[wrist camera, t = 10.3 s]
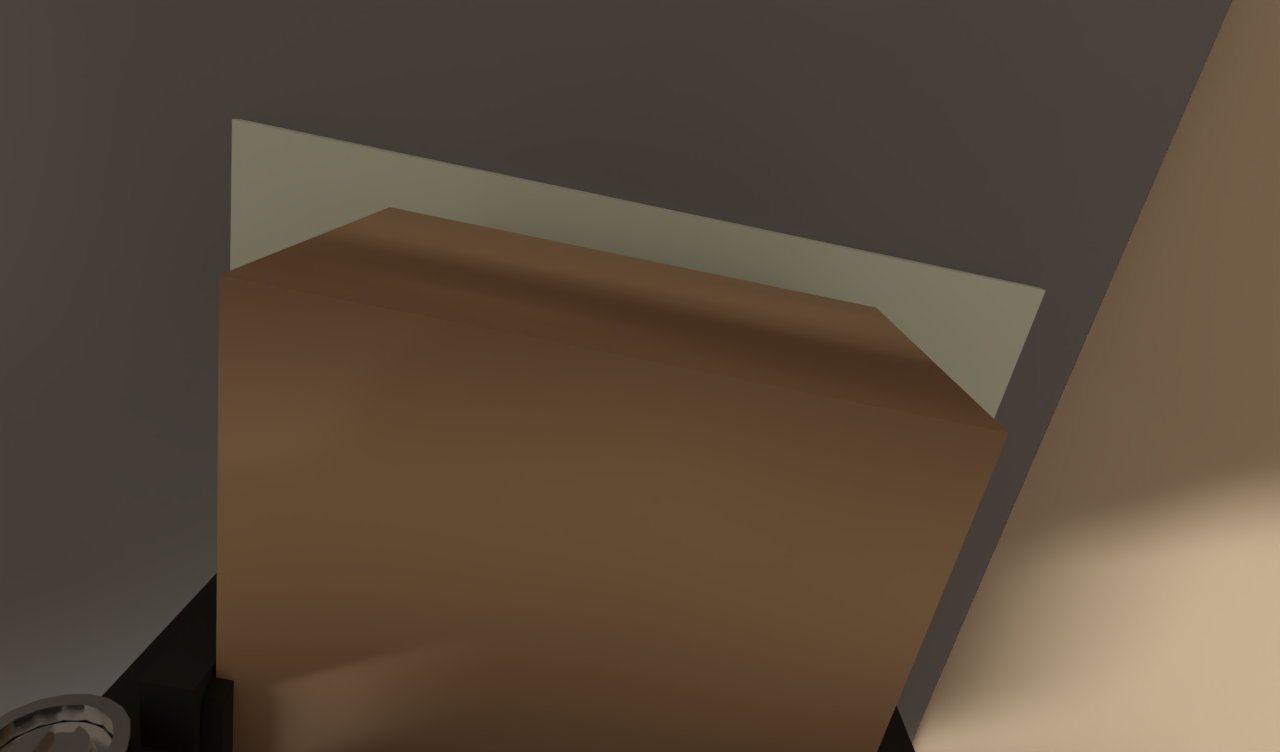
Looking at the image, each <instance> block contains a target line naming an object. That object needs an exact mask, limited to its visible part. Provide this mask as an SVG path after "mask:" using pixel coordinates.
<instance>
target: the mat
mask: <svg viewBox="0 0 1280 752" xmlns="http://www.w3.org/2000/svg"><path fill="white" fill-rule="evenodd" d="M1231 2H1232V0H0V717H1V716H3V715H4V714H6V713H8V712H10V711H11V710H13V709H15V708H18V707H21V706H23V705H26V704H29V703H31V702H34V701H37V700H39V699H44V698H49V697H54V696H59V695H64V694H92V695H97V696H102V695H103V694H104V693H105V692H106V691H107V690H108V689H109V688H110V687H111V686H112V685H113V683H114V682H115V681H116V680H117V679H118V678H119V677H120V676H121V675H122V674H123V673H124V672H125V671H126V669H127V668H128V667H129V666H130V665H131V664H132V663H133V662H134V661H135V660H136V659H137V658H138V657H139V656H140V654H141V653H142V652H143V651H144V650H145V649H146V648H147V647H148V646H149V645H150V644H151V643H152V642H153V641H154V639H155V638H156V637H157V636H158V635H159V634H160V633H161V632H162V631H163V630H164V629H165V628H166V627H167V626H168V624H169V623H170V622H171V621H172V620H173V619H174V618H175V617H176V616H177V615H178V614H179V613H180V612H181V611H182V609H183V608H184V607H185V606H186V605H187V604H188V603H189V602H190V601H191V600H192V599H193V598H194V597H195V595H196V594H197V593H198V592H199V591H200V590H201V589H202V588H203V587H204V586H205V585H206V584H207V583H208V582H209V580H210V579H211V578H212V577H213V576H214V575H215V574H216V573H217V487H218V351H219V275H220V274H223V273H225V272H228V271H230V270H233V269H235V268H238V267H240V266H243V265H245V264H248V263H250V262H253V261H255V260H258V259H260V258H263V257H265V256H268V255H270V254H273V253H275V252H278V251H280V250H283V249H285V248H288V247H290V246H293V245H295V244H298V243H301V242H303V241H306V240H308V239H311V238H313V237H316V236H318V235H321V234H323V233H326V232H328V231H331V230H333V229H336V228H338V227H341V226H343V225H346V224H348V223H351V222H353V221H356V220H358V219H361V218H363V217H366V216H368V215H371V214H373V213H376V212H378V211H381V210H383V209H386V208H388V207H392V208H397V209H402V210H407V211H411V212H416V213H421V214H426V215H431V216H436V217H440V218H445V219H450V220H455V221H460V222H465V223H469V224H474V225H479V226H484V227H489V228H494V229H498V230H503V231H508V232H513V233H518V234H523V235H528V236H532V237H537V238H542V239H547V240H552V241H557V242H561V243H566V244H571V245H576V246H581V247H586V248H590V249H595V250H600V251H605V252H610V253H615V254H619V255H624V256H629V257H634V258H639V259H644V260H648V261H653V262H658V263H663V264H668V265H673V266H677V267H682V268H687V269H692V270H697V271H702V272H706V273H711V274H716V275H721V276H726V277H731V278H736V279H740V280H745V281H750V282H755V283H760V284H765V285H769V286H774V287H779V288H784V289H789V290H794V291H798V292H803V293H808V294H813V295H818V296H823V297H827V298H832V299H837V300H842V301H847V302H852V303H856V304H861V305H866V306H871V307H876V308H877V309H878V310H879V311H880V312H881V313H882V314H884V315H885V316H886V317H887V318H888V319H889V320H890V321H891V322H892V323H893V324H894V325H895V326H896V327H897V328H898V329H899V330H900V331H902V332H903V333H904V334H905V335H906V336H907V337H908V338H909V339H910V340H911V341H912V342H913V343H914V344H915V345H916V346H917V347H918V348H920V349H921V350H922V351H923V352H924V353H925V354H926V355H927V356H928V357H929V358H930V359H931V360H932V361H933V362H934V363H935V364H936V365H938V366H939V367H940V368H941V369H942V370H943V371H944V372H945V373H946V374H947V375H948V376H949V377H950V378H951V379H952V380H953V381H954V382H956V383H957V384H958V385H959V386H960V387H961V388H962V389H963V390H964V391H965V392H966V393H967V394H968V395H969V396H970V397H971V398H973V399H974V400H975V401H976V402H977V403H978V404H979V405H980V406H981V407H982V408H983V409H984V410H985V411H986V412H987V413H988V414H989V415H991V416H992V417H993V418H994V419H995V420H996V421H997V422H998V423H999V424H1000V425H1001V426H1002V427H1003V428H1004V429H1005V430H1006V431H1007V432H1009V434H1008V436H1007V439H1006V441H1005V444H1004V446H1003V448H1002V451H1001V453H1000V456H999V458H998V460H997V463H996V465H995V468H994V470H993V473H992V475H991V477H990V480H989V482H988V485H987V487H986V489H985V492H984V494H983V497H982V499H981V502H980V504H979V506H978V509H977V511H976V514H975V516H974V519H973V521H972V523H971V526H970V528H969V531H968V533H967V535H966V538H965V540H964V543H963V545H962V548H961V550H960V552H959V555H958V557H957V560H956V562H955V564H954V567H953V569H952V572H951V574H950V577H949V579H948V581H947V584H946V586H945V589H944V591H943V594H942V596H941V598H940V601H939V603H938V606H937V608H936V610H935V613H934V615H933V618H932V620H931V623H930V625H929V627H928V630H927V632H926V635H925V637H924V639H923V642H922V644H921V647H920V649H919V652H918V654H917V656H916V659H915V661H914V664H913V666H912V668H911V671H910V673H909V676H908V678H907V681H906V683H905V685H904V688H903V690H902V693H901V695H900V698H899V700H898V702H897V708H898V710H899V713H900V715H901V718H902V720H903V723H904V725H905V728H906V730H907V733H908V735H909V738H910V741H911V742H912V740H913V737H914V735H915V733H916V730H917V728H918V726H919V723H920V721H921V719H922V716H923V714H924V712H925V709H926V707H927V705H928V703H929V700H930V698H931V696H932V693H933V691H934V689H935V686H936V684H937V682H938V679H939V677H940V675H941V672H942V670H943V668H944V666H945V663H946V661H947V659H948V656H949V654H950V652H951V649H952V647H953V645H954V642H955V640H956V638H957V635H958V633H959V631H960V628H961V626H962V624H963V622H964V619H965V617H966V615H967V612H968V610H969V608H970V605H971V603H972V601H973V598H974V596H975V594H976V591H977V589H978V587H979V585H980V582H981V580H982V578H983V575H984V573H985V571H986V568H987V566H988V564H989V561H990V559H991V557H992V554H993V552H994V550H995V548H996V545H997V543H998V541H999V538H1000V536H1001V534H1002V531H1003V529H1004V527H1005V524H1006V522H1007V520H1008V517H1009V515H1010V513H1011V511H1012V508H1013V506H1014V504H1015V501H1016V499H1017V497H1018V494H1019V492H1020V490H1021V487H1022V485H1023V483H1024V480H1025V478H1026V476H1027V474H1028V471H1029V469H1030V467H1031V464H1032V462H1033V460H1034V457H1035V455H1036V453H1037V450H1038V448H1039V446H1040V443H1041V441H1042V439H1043V437H1044V434H1045V432H1046V430H1047V427H1048V425H1049V423H1050V420H1051V418H1052V416H1053V413H1054V411H1055V409H1056V406H1057V404H1058V402H1059V400H1060V397H1061V395H1062V393H1063V390H1064V388H1065V386H1066V383H1067V381H1068V379H1069V376H1070V374H1071V372H1072V369H1073V367H1074V365H1075V362H1076V360H1077V358H1078V356H1079V353H1080V351H1081V349H1082V346H1083V344H1084V342H1085V339H1086V337H1087V335H1088V332H1089V330H1090V328H1091V325H1092V323H1093V321H1094V319H1095V316H1096V314H1097V312H1098V309H1099V307H1100V305H1101V302H1102V300H1103V298H1104V295H1105V293H1106V291H1107V288H1108V286H1109V284H1110V282H1111V279H1112V277H1113V275H1114V272H1115V270H1116V268H1117V265H1118V263H1119V261H1120V258H1121V256H1122V254H1123V251H1124V249H1125V247H1126V245H1127V242H1128V240H1129V238H1130V235H1131V233H1132V231H1133V228H1134V226H1135V224H1136V221H1137V219H1138V217H1139V214H1140V212H1141V210H1142V208H1143V205H1144V203H1145V201H1146V198H1147V196H1148V194H1149V191H1150V189H1151V187H1152V184H1153V182H1154V180H1155V177H1156V175H1157V173H1158V171H1159V168H1160V166H1161V164H1162V161H1163V159H1164V157H1165V154H1166V152H1167V150H1168V147H1169V145H1170V143H1171V140H1172V138H1173V136H1174V134H1175V131H1176V129H1177V127H1178V124H1179V122H1180V120H1181V117H1182V115H1183V113H1184V110H1185V108H1186V106H1187V103H1188V101H1189V99H1190V97H1191V94H1192V92H1193V90H1194V87H1195V85H1196V83H1197V80H1198V78H1199V76H1200V73H1201V71H1202V69H1203V66H1204V64H1205V62H1206V59H1207V57H1208V55H1209V53H1210V50H1211V48H1212V46H1213V43H1214V41H1215V39H1216V36H1217V34H1218V32H1219V29H1220V27H1221V25H1222V22H1223V20H1224V18H1225V16H1226V13H1227V11H1228V9H1229V6H1230V4H1231Z"/></svg>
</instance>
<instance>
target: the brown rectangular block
mask: <svg viewBox="0 0 1280 752" xmlns="http://www.w3.org/2000/svg"><path fill="white" fill-rule="evenodd" d="M1008 434H1009V432H1007V431H1006V430H1005V429H1004V428H1003V427H1002V426H1001V425H1000V424H999V423H998V422H997V421H996V420H995V419H994V418H993V417H992V416H991V415H989V414H988V413H987V412H986V411H985V410H984V409H983V408H982V407H981V406H980V405H979V404H978V403H977V402H976V401H975V400H974V399H973V398H971V397H970V396H969V395H968V394H967V393H966V392H965V391H964V390H963V389H962V388H961V387H960V386H959V385H958V384H957V383H956V382H954V381H953V380H952V379H951V378H950V377H949V376H948V375H947V374H946V373H945V372H944V371H943V370H942V369H941V368H940V367H939V366H938V365H936V364H935V363H934V362H933V361H932V360H931V359H930V358H929V357H928V356H927V355H926V354H925V353H924V352H923V351H922V350H921V349H920V348H918V347H917V346H916V345H915V344H914V343H913V342H912V341H911V340H910V339H909V338H908V337H907V336H906V335H905V334H904V333H903V332H902V331H900V330H899V329H898V328H897V327H896V326H895V325H894V324H893V323H892V322H891V321H890V320H889V319H888V318H887V317H886V316H885V315H884V314H882V313H881V312H880V311H879V310H878V309H877V308H876V307H871V306H866V305H861V304H856V303H852V302H847V301H842V300H837V299H832V298H827V297H823V296H818V295H813V294H808V293H803V292H798V291H794V290H789V289H784V288H779V287H774V286H769V285H765V284H760V283H755V282H750V281H745V280H740V279H736V278H731V277H726V276H721V275H716V274H711V273H706V272H702V271H697V270H692V269H687V268H682V267H677V266H673V265H668V264H663V263H658V262H653V261H648V260H644V259H639V258H634V257H629V256H624V255H619V254H615V253H610V252H605V251H600V250H595V249H590V248H586V247H581V246H576V245H571V244H566V243H561V242H557V241H552V240H547V239H542V238H537V237H532V236H528V235H523V234H518V233H513V232H508V231H503V230H498V229H494V228H489V227H484V226H479V225H474V224H469V223H465V222H460V221H455V220H450V219H445V218H440V217H436V216H431V215H426V214H421V213H416V212H411V211H407V210H402V209H397V208H392V207H388V208H386V209H383V210H381V211H378V212H376V213H373V214H371V215H368V216H366V217H363V218H361V219H358V220H356V221H353V222H351V223H348V224H346V225H343V226H341V227H338V228H336V229H333V230H331V231H328V232H326V233H323V234H321V235H318V236H316V237H313V238H311V239H308V240H306V241H303V242H301V243H298V244H295V245H293V246H290V247H288V248H285V249H283V250H280V251H278V252H275V253H273V254H270V255H268V256H265V257H263V258H260V259H258V260H255V261H253V262H250V263H248V264H245V265H243V266H240V267H238V268H235V269H233V270H230V271H228V272H225V273H223V274H220V275H219V351H218V487H217V623H216V677H217V678H222V679H228V680H234V698H233V752H877V751H878V748H879V746H880V743H881V741H882V739H883V736H884V734H885V731H886V729H887V727H888V724H889V722H890V719H891V717H892V714H893V712H894V710H895V707H896V705H897V702H898V700H899V698H900V695H901V693H902V690H903V688H904V685H905V683H906V681H907V678H908V676H909V673H910V671H911V668H912V666H913V664H914V661H915V659H916V656H917V654H918V652H919V649H920V647H921V644H922V642H923V639H924V637H925V635H926V632H927V630H928V627H929V625H930V623H931V620H932V618H933V615H934V613H935V610H936V608H937V606H938V603H939V601H940V598H941V596H942V594H943V591H944V589H945V586H946V584H947V581H948V579H949V577H950V574H951V572H952V569H953V567H954V564H955V562H956V560H957V557H958V555H959V552H960V550H961V548H962V545H963V543H964V540H965V538H966V535H967V533H968V531H969V528H970V526H971V523H972V521H973V519H974V516H975V514H976V511H977V509H978V506H979V504H980V502H981V499H982V497H983V494H984V492H985V489H986V487H987V485H988V482H989V480H990V477H991V475H992V473H993V470H994V468H995V465H996V463H997V460H998V458H999V456H1000V453H1001V451H1002V448H1003V446H1004V444H1005V441H1006V439H1007V436H1008Z"/></svg>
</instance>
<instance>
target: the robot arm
mask: <svg viewBox="0 0 1280 752" xmlns="http://www.w3.org/2000/svg"><path fill="white" fill-rule="evenodd" d="M216 623H217V573H216V574H215V575H214V576H213V577H212V578H211V579H210V580H209V582H208V583H207V584H206V585H205V586H204V587H203V588H202V589H201V590H200V591H199V592H198V593H197V594H196V595H195V597H194V598H193V599H192V600H191V601H190V602H189V603H188V604H187V605H186V606H185V607H184V608H183V609H182V611H181V612H180V613H179V614H178V615H177V616H176V617H175V618H174V619H173V620H172V621H171V622H170V623H169V624H168V626H167V627H166V628H165V629H164V630H163V631H162V632H161V633H160V634H159V635H158V636H157V637H156V638H155V639H154V641H153V642H152V643H151V644H150V645H149V646H148V647H147V648H146V649H145V650H144V651H143V652H142V653H141V654H140V656H139V657H138V658H137V659H136V660H135V661H134V662H133V663H132V664H131V665H130V666H129V667H128V668H127V669H126V671H125V672H124V673H123V674H122V675H121V676H120V677H119V678H118V679H117V680H116V681H115V682H114V683H113V685H112V686H111V687H110V688H109V689H108V690H107V691H106V692H105V693H104V694H103V695H102V696H97V695H92V694H64V695H59V696H54V697H49V698H44V699H39V700H37V701H34V702H31V703H29V704H26V705H23V706H21V707H18V708H15V709H13V710H11V711H10V712H8V713H6V714H4V715H3V716H1V717H0V752H233V698H234V680H228V679H222V678H217V677H216ZM877 752H915V751H914V748H913V746H912V743H911V741H910V738H909V735H908V733H907V730H906V728H905V725H904V723H903V720H902V718H901V715H900V713H899V710H898V708H897V705H896V707H895V710H894V712H893V714H892V717H891V719H890V722H889V724H888V727H887V729H886V731H885V734H884V736H883V739H882V741H881V743H880V746H879V748H878V751H877Z"/></svg>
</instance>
